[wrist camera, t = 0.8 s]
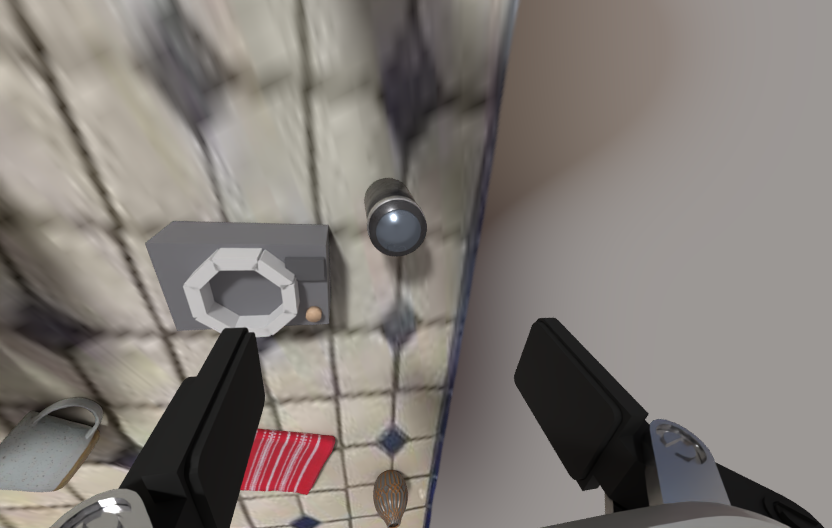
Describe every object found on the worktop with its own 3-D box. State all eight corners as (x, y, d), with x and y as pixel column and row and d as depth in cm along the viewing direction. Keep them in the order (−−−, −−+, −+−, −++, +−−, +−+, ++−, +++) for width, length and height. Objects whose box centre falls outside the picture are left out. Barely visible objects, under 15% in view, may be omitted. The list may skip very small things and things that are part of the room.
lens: (364, 175, 32) (369, 201, 25) (414, 178, 33) (432, 203, 26) (362, 223, 34) (367, 258, 27) (409, 224, 36) (424, 258, 29)
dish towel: (309, 482, 60) (308, 497, 58) (169, 479, 51) (161, 497, 49) (339, 431, 54) (338, 446, 52) (185, 417, 45) (177, 435, 43)
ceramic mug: (89, 447, 43) (44, 511, 37) (13, 431, 39) (-51, 499, 33) (126, 405, 41) (85, 465, 35) (50, 384, 37) (-12, 446, 31)
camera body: (172, 221, 30) (130, 254, 24) (328, 224, 34) (324, 254, 28) (197, 301, 35) (167, 344, 29) (330, 297, 38) (328, 336, 33)
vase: (374, 467, 61) (378, 519, 54) (407, 464, 63) (415, 514, 56) (369, 485, 65) (372, 536, 57) (400, 481, 66) (407, 531, 59)
